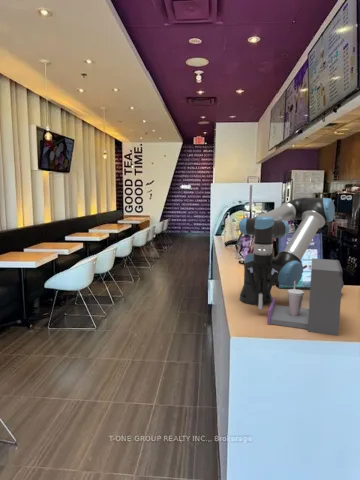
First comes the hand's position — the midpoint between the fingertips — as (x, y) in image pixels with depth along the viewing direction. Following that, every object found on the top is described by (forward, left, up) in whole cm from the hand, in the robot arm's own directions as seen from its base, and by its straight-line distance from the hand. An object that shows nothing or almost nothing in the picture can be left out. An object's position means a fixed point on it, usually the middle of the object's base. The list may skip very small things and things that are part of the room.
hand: (260, 308), depth 148 cm
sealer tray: (+12, 0, -3) cm, 12 cm away
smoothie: (+14, 0, -1) cm, 14 cm away
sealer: (+25, 0, -3) cm, 25 cm away
